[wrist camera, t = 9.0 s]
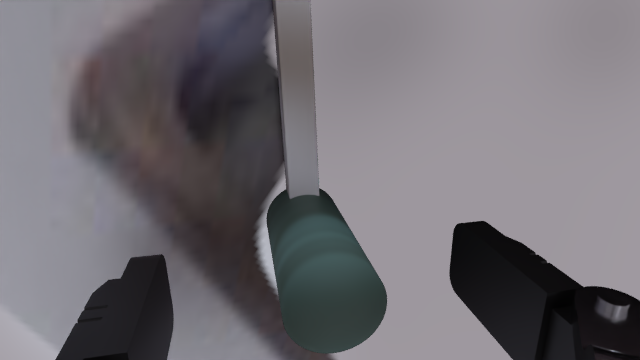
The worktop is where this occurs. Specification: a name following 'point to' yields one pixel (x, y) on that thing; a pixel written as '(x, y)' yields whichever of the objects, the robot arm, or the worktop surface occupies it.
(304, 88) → the mallet
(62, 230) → the worktop surface
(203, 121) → the worktop surface
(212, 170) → the worktop surface
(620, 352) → the robot arm
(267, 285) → the worktop surface
